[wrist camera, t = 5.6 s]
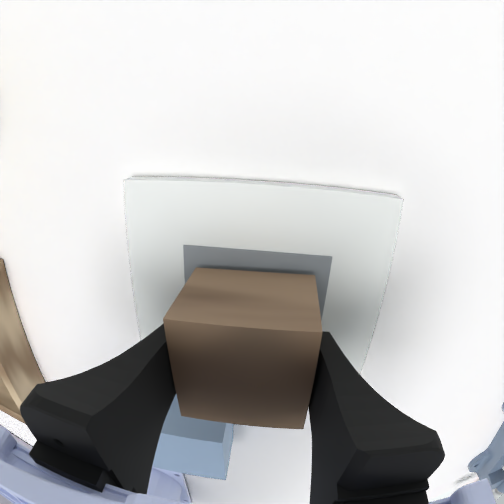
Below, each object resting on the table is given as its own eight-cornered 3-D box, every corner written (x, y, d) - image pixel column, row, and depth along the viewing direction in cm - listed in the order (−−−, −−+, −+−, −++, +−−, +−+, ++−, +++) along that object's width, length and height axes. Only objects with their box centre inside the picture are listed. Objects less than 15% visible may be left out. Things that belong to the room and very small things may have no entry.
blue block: (233, 435, 20) (225, 480, 17) (168, 426, 21) (153, 466, 17) (232, 392, 18) (222, 442, 15) (157, 382, 19) (136, 427, 15)
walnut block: (303, 365, 15) (303, 429, 11) (203, 357, 15) (181, 416, 12) (315, 275, 13) (322, 332, 9) (196, 267, 13) (162, 318, 10)
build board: (347, 391, 17) (349, 404, 16) (154, 373, 18) (149, 384, 17) (395, 194, 13) (404, 200, 12) (132, 176, 14) (122, 180, 13)
